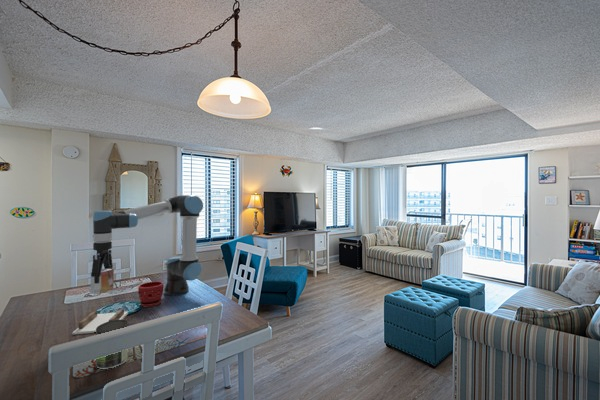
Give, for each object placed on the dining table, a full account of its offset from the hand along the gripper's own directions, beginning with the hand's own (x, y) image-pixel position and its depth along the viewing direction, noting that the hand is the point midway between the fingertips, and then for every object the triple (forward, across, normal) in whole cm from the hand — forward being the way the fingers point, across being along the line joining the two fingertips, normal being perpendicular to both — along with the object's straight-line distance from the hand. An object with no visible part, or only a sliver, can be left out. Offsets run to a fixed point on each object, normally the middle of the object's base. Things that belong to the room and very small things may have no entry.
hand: (102, 286), depth 137 cm
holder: (+19, 0, 0) cm, 19 cm away
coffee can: (+19, +37, +19) cm, 46 cm away
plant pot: (+19, -22, +16) cm, 33 cm away
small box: (+3, 0, 0) cm, 3 cm away
